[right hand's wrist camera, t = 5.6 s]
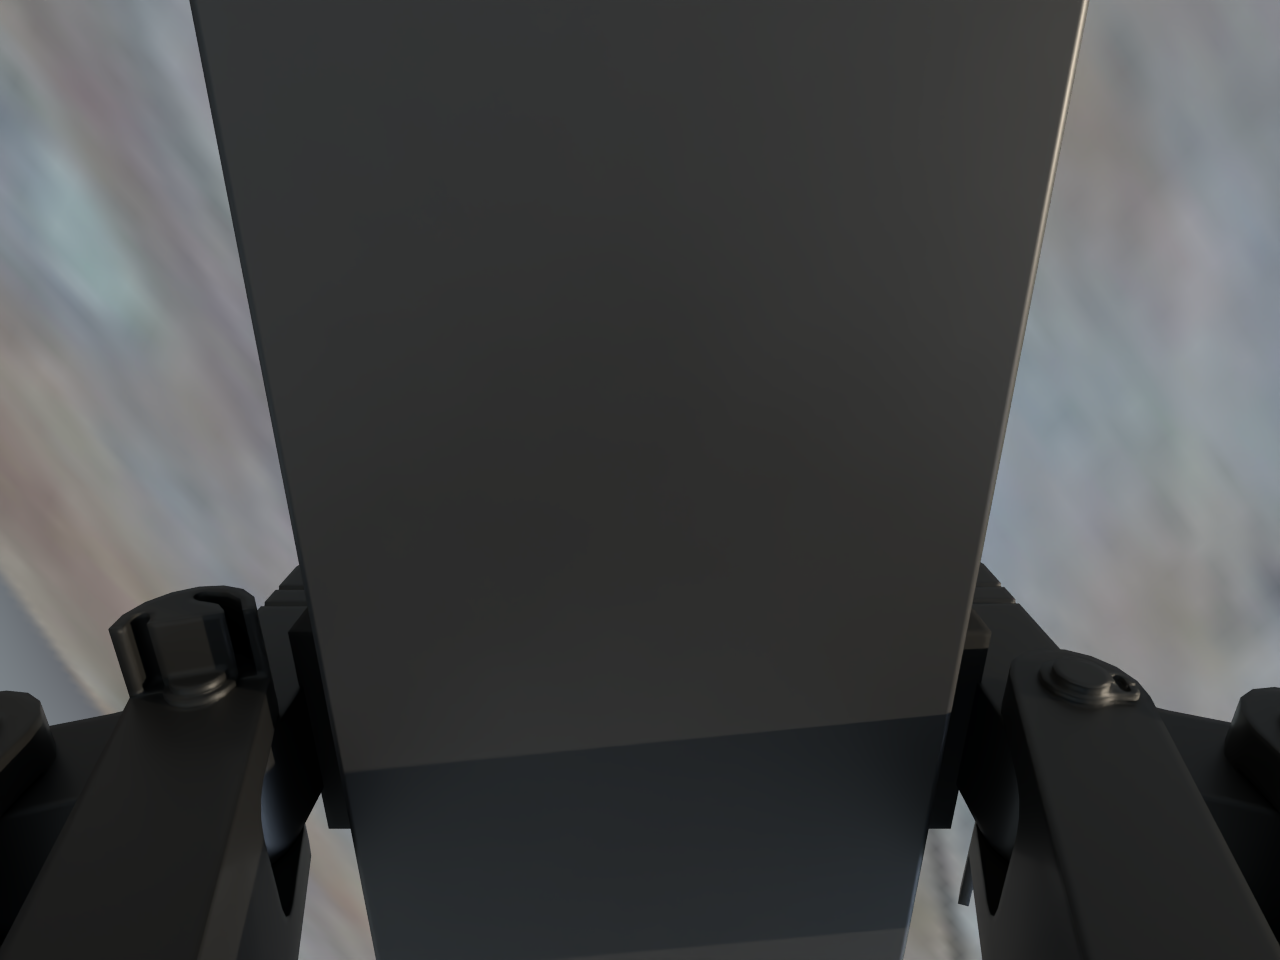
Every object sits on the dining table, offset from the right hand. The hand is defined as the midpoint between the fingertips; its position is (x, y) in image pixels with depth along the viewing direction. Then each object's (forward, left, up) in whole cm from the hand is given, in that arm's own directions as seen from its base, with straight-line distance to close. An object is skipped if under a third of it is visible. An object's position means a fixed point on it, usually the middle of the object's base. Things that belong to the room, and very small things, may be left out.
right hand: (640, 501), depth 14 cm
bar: (+7, +7, -1) cm, 10 cm away
